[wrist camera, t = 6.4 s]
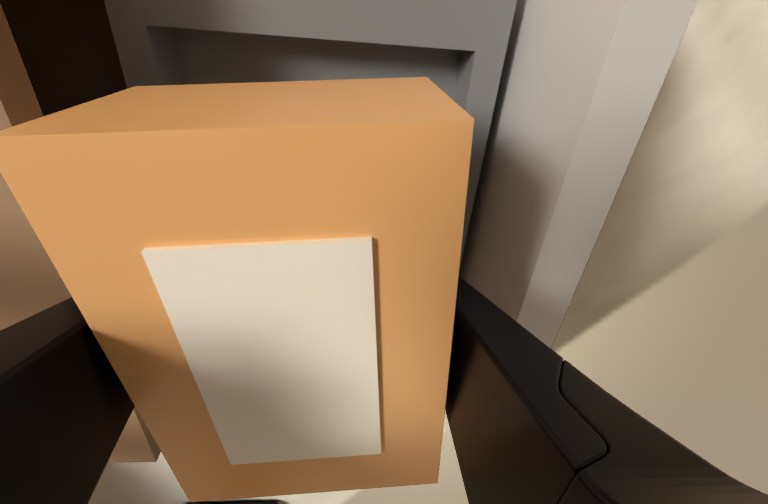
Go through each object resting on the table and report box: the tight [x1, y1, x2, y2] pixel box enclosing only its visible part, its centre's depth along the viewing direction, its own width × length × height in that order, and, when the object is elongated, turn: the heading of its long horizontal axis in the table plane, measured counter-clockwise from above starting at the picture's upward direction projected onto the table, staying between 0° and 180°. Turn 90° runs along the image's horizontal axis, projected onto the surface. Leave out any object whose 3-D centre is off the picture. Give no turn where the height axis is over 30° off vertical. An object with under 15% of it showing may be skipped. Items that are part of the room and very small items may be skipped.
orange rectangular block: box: [0, 77, 474, 502], centre depth 8 cm, size 8×6×4 cm
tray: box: [104, 0, 698, 348], centre depth 11 cm, size 15×11×6 cm
